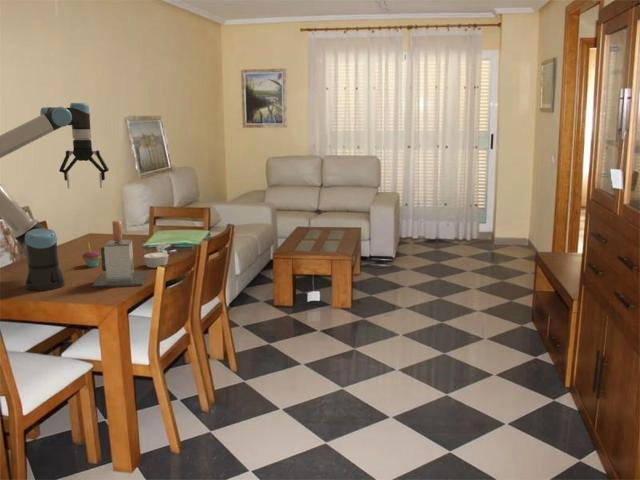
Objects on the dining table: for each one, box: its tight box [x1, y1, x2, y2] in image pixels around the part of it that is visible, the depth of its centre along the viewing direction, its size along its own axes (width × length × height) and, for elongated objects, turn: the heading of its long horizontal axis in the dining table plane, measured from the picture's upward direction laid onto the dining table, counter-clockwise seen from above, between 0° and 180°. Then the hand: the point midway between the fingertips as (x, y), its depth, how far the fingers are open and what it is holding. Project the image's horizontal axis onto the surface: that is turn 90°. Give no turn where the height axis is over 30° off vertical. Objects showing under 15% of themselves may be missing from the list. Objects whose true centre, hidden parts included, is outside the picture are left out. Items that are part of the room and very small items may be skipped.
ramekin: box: [143, 252, 169, 269], centre depth 289 cm, size 11×11×5 cm
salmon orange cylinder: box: [112, 220, 124, 243], centre depth 260 cm, size 4×4×24 cm
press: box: [91, 239, 148, 289], centre depth 261 cm, size 20×20×17 cm
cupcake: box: [81, 242, 102, 268], centre depth 288 cm, size 9×8×12 cm
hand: (85, 187), depth 269 cm, fingers open, 13 cm apart
